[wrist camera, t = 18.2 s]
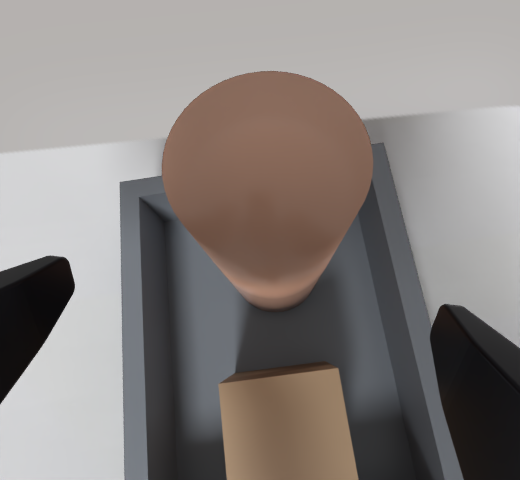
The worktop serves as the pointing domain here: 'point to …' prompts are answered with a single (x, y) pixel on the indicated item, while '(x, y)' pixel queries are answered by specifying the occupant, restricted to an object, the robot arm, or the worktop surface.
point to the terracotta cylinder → (268, 181)
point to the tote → (276, 342)
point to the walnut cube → (286, 424)
